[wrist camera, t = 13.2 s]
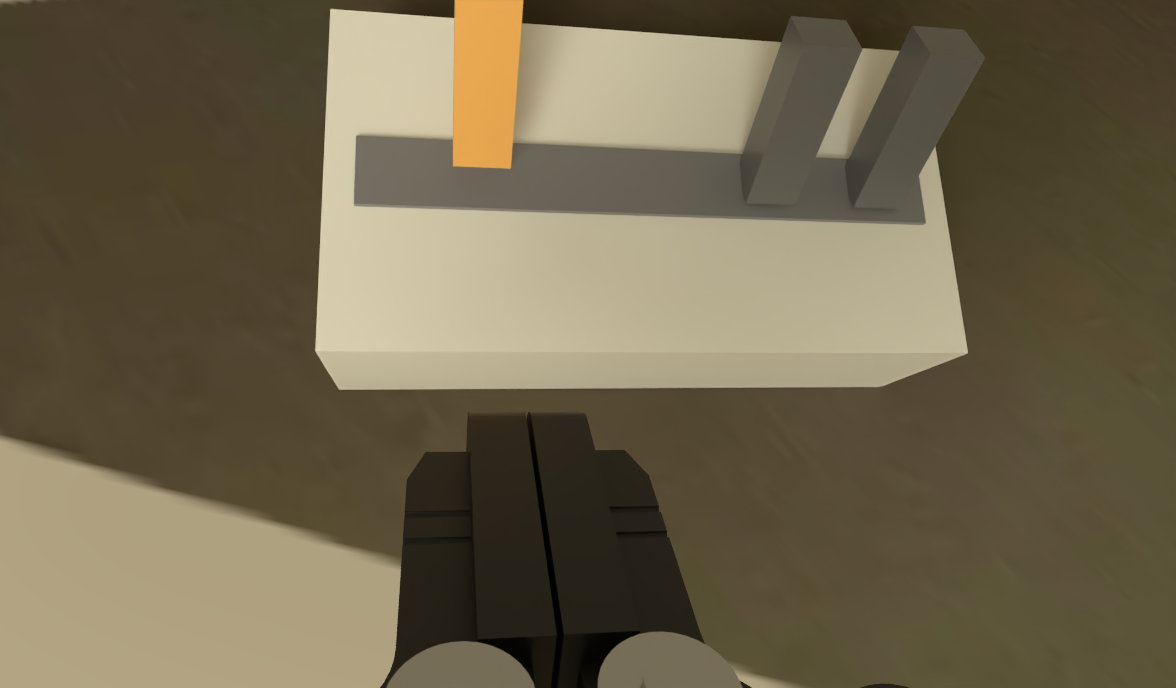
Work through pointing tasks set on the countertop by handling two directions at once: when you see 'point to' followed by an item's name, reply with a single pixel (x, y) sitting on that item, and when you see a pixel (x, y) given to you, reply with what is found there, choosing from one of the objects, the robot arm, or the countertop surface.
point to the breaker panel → (640, 211)
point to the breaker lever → (485, 81)
